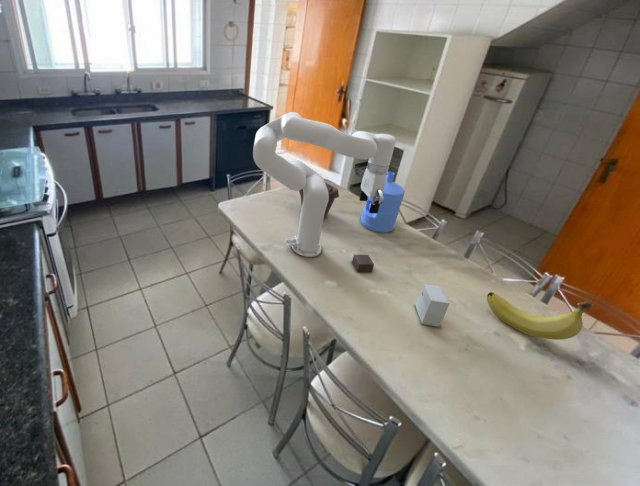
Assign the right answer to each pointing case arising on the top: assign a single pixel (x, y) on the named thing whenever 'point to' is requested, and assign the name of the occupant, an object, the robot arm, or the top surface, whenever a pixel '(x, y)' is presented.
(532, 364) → the top surface
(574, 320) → the banana
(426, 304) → the small box
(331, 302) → the top surface
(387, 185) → the water jug
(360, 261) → the walnut block
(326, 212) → the case
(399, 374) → the top surface
